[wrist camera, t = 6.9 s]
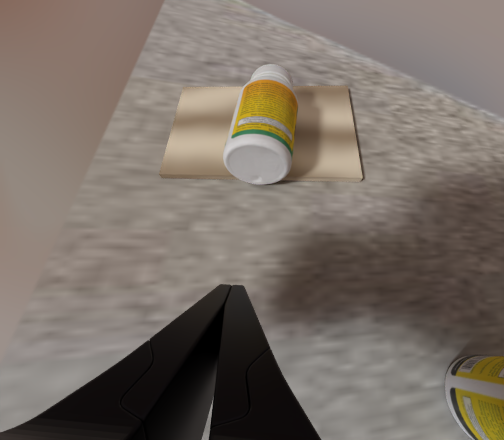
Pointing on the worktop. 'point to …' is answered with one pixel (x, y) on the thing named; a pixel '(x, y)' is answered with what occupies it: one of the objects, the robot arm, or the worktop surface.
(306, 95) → the birch board
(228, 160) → the supplement bottle
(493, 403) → the supplement bottle
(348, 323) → the worktop surface
